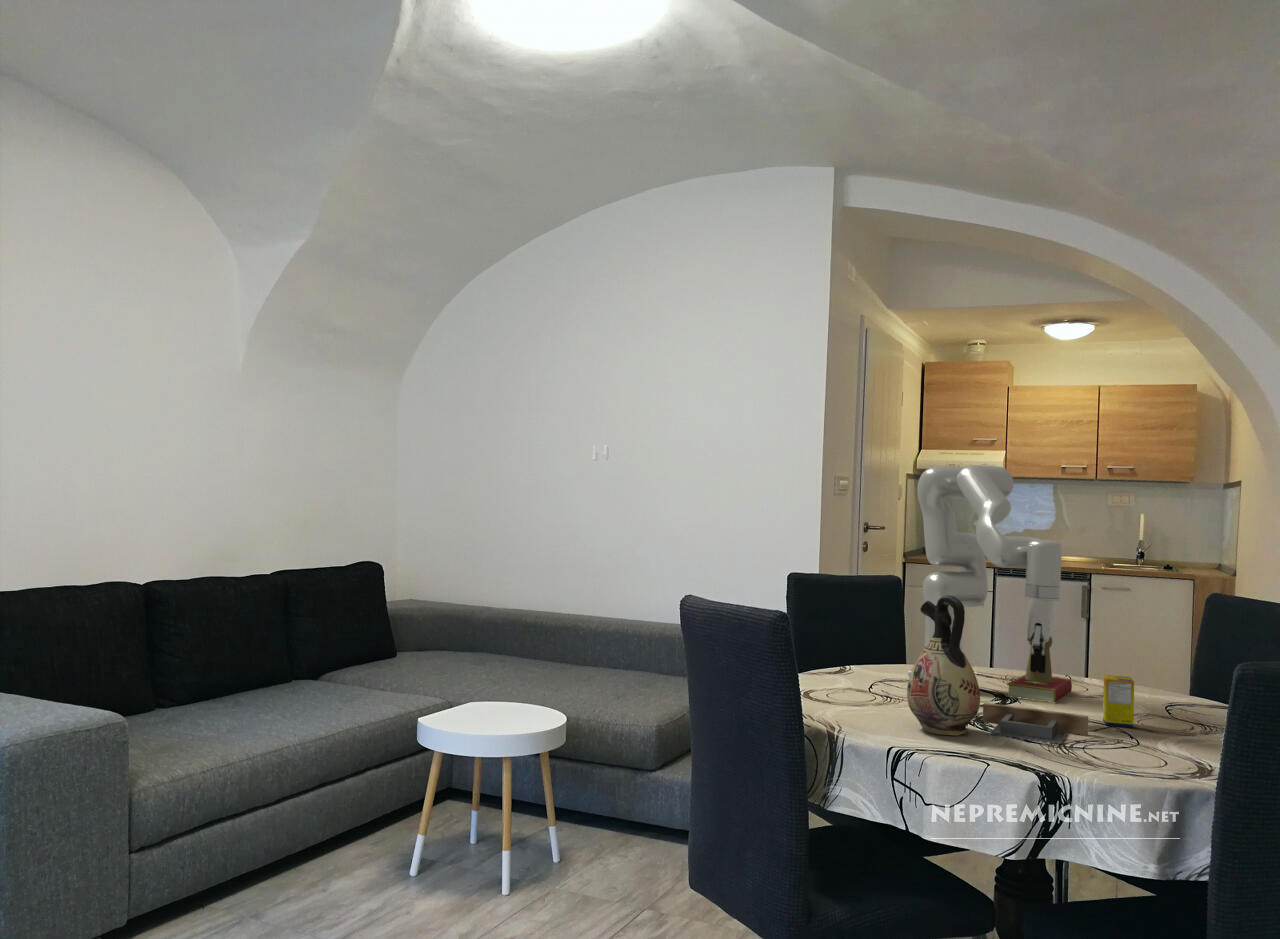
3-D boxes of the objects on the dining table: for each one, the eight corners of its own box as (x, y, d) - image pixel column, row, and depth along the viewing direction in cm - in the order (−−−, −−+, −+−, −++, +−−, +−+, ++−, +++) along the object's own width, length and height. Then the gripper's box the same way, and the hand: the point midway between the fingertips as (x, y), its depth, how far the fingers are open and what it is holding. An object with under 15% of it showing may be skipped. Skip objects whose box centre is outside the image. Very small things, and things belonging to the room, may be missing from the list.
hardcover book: (1071, 693, 270) (1072, 678, 270) (1055, 705, 253) (1055, 688, 253) (1025, 687, 277) (1026, 672, 277) (1006, 698, 259) (1007, 682, 259)
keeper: (990, 734, 214) (991, 720, 214) (1000, 724, 225) (1000, 711, 225) (1060, 744, 208) (1060, 729, 208) (1066, 733, 218) (1067, 719, 218)
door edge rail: (982, 721, 228) (983, 703, 228) (984, 719, 229) (984, 702, 230) (1087, 735, 217) (1087, 717, 217) (1087, 734, 219) (1088, 715, 219)
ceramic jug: (891, 724, 221) (895, 590, 221) (948, 721, 226) (952, 590, 227) (939, 743, 205) (944, 598, 206) (999, 739, 210) (1003, 598, 211)
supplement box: (1130, 723, 232) (1131, 676, 232) (1133, 728, 226) (1134, 680, 227) (1102, 720, 234) (1103, 674, 234) (1105, 725, 228) (1106, 678, 229)
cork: (1020, 676, 235) (1022, 630, 235) (1044, 677, 235) (1046, 631, 235) (1032, 682, 229) (1034, 634, 229) (1057, 683, 229) (1059, 635, 229)
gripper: (1030, 588, 241) (1027, 663, 241) (1020, 594, 227) (1016, 673, 226) (1063, 591, 238) (1060, 667, 237) (1055, 597, 223) (1051, 678, 223)
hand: (1039, 669), depth 232 cm, fingers closed on cork, 4 cm apart
